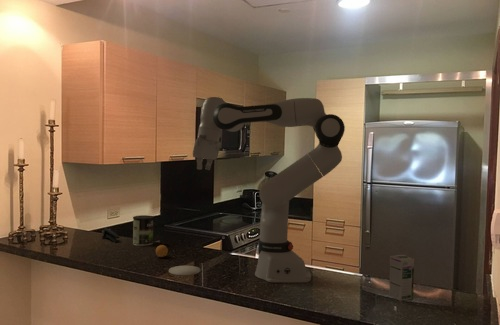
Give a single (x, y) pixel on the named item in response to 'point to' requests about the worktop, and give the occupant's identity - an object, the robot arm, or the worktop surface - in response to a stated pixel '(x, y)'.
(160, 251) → the ball
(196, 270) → the disc
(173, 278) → the worktop surface
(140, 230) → the coffee can
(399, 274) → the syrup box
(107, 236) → the can opener
